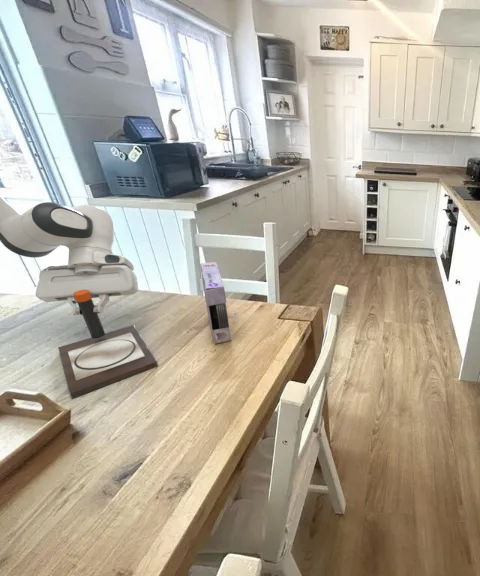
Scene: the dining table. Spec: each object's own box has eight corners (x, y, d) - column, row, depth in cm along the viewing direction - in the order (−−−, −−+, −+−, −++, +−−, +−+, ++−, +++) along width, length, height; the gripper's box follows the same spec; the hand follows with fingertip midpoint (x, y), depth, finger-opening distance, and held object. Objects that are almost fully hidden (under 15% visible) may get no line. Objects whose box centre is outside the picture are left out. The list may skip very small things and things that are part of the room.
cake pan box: (234, 342, 91) (224, 286, 83) (214, 347, 88) (202, 289, 80) (225, 311, 105) (215, 260, 97) (207, 314, 103) (197, 263, 95)
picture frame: (60, 352, 83) (57, 346, 82) (135, 329, 94) (133, 323, 93) (72, 398, 70) (69, 392, 69) (158, 366, 80) (156, 360, 80)
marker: (89, 339, 84) (70, 295, 78) (93, 333, 87) (76, 290, 81) (103, 337, 85) (86, 294, 79) (107, 331, 88) (91, 288, 82)
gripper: (32, 262, 80) (26, 315, 76) (131, 256, 87) (130, 305, 83) (48, 271, 85) (43, 322, 81) (140, 265, 92) (140, 312, 88)
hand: (88, 313), depth 82 cm, fingers closed on marker, 3 cm apart
